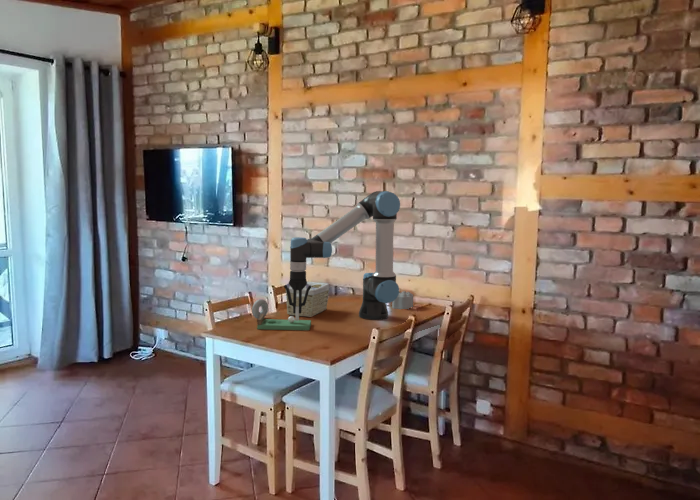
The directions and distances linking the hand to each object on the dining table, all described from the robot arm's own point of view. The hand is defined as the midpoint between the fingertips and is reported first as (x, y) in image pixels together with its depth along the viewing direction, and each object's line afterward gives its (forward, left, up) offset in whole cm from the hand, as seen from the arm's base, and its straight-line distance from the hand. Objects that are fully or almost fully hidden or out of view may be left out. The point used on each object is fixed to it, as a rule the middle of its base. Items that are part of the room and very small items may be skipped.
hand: (297, 319), depth 271 cm
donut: (+20, -15, -4) cm, 25 cm away
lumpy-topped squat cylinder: (-55, -52, -4) cm, 76 cm away
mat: (+6, 0, -3) cm, 7 cm away
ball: (+3, 0, 0) cm, 3 cm away
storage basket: (-3, -33, -4) cm, 33 cm away
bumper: (+17, 0, -1) cm, 17 cm away
